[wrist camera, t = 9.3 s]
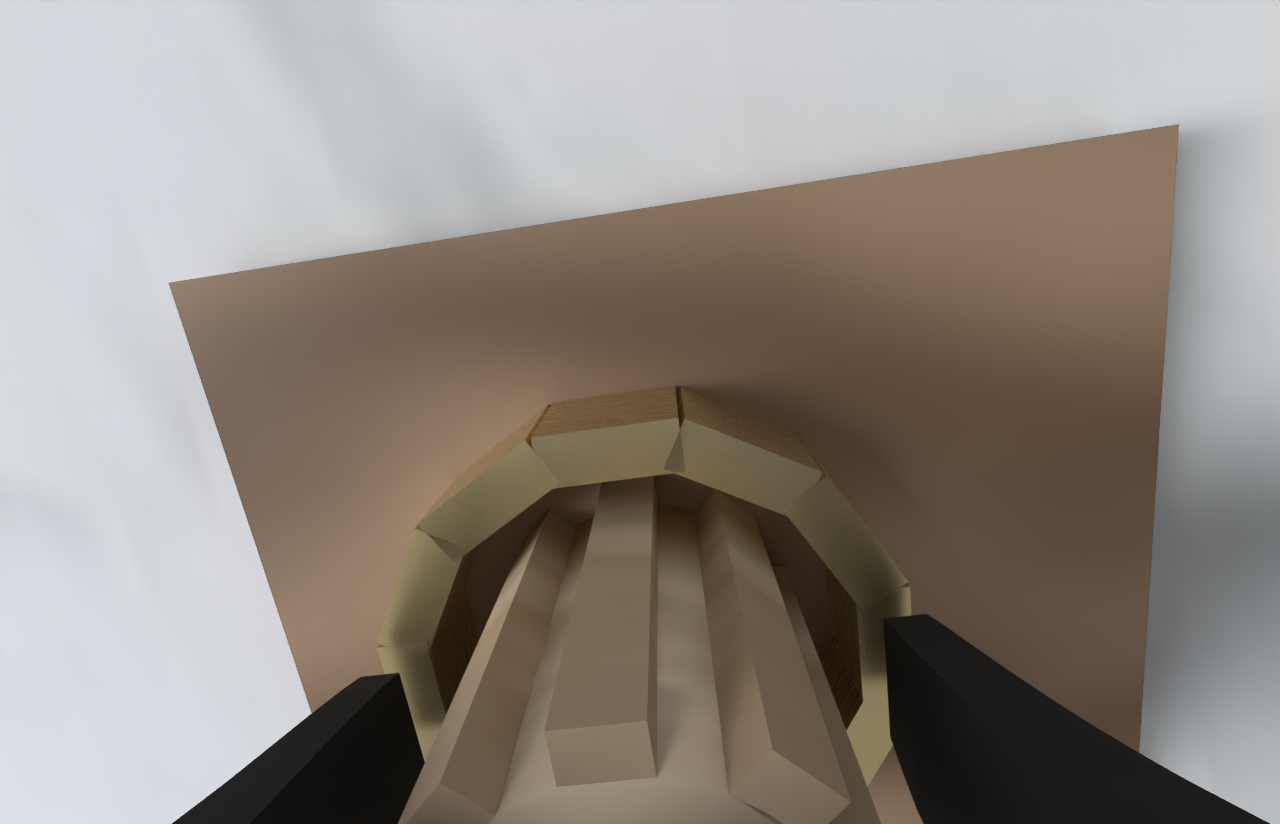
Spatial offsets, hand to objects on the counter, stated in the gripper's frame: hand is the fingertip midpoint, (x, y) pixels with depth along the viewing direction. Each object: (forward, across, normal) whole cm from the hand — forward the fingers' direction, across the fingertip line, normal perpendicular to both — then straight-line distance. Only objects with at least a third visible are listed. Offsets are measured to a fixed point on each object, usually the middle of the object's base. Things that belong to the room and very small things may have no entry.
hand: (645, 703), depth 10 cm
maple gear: (+3, 0, 0) cm, 3 cm away
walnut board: (+4, -1, +3) cm, 5 cm away
